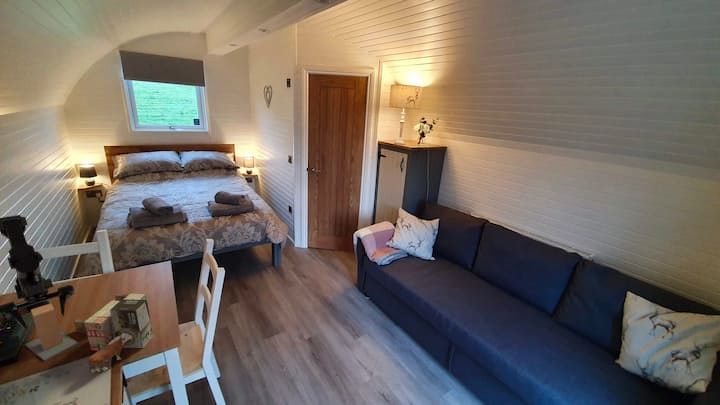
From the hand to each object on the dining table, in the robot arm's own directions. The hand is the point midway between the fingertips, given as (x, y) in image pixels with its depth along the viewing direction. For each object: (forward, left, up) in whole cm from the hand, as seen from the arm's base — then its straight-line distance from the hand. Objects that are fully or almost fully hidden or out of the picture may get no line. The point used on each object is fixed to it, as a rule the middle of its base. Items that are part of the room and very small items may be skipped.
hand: (45, 322), depth 108 cm
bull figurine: (+27, +6, -9) cm, 29 cm away
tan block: (+1, 0, -8) cm, 8 cm away
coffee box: (+24, +15, -9) cm, 30 cm away
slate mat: (+1, 0, -9) cm, 9 cm away
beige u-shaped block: (+2, +17, -9) cm, 19 cm away
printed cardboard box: (+14, +16, -9) cm, 23 cm away
